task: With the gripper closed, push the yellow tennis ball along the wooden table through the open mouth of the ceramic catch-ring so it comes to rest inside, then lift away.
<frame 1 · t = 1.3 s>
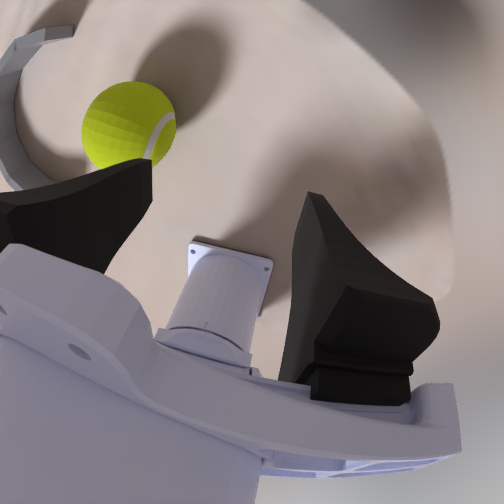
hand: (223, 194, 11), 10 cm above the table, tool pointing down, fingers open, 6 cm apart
catch ring: (55, 114, 19), on the table
tennis ball: (152, 116, 19), on the table
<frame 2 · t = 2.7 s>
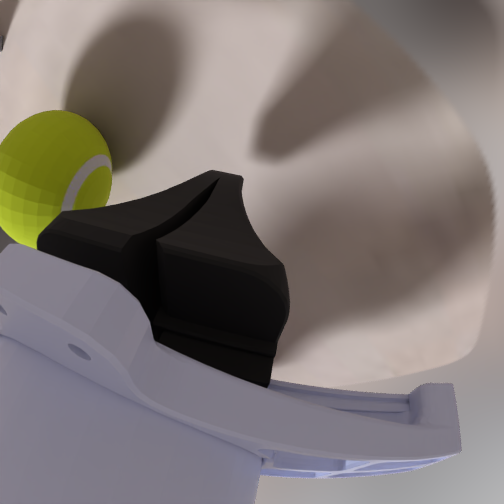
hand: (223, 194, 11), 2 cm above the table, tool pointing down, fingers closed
tennis ball: (90, 151, 13), on the table
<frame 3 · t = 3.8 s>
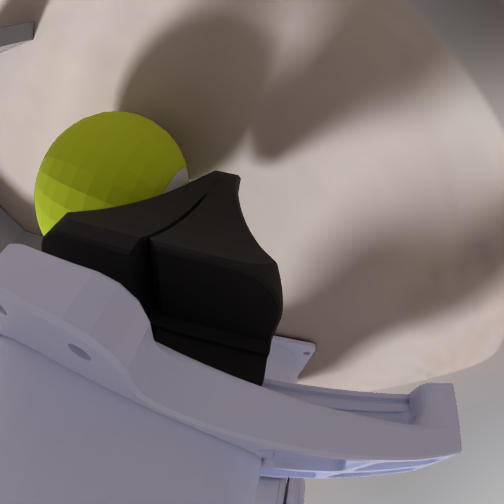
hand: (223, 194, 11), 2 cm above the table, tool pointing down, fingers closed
catch ring: (18, 149, 13), on the table
tennis ball: (149, 159, 13), on the table, touching gripper
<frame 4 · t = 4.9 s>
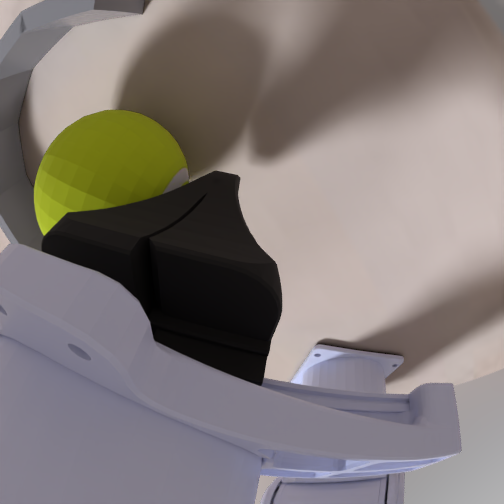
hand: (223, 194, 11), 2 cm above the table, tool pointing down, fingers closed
catch ring: (99, 155, 13), on the table
tennis ball: (149, 158, 13), on the table, touching gripper
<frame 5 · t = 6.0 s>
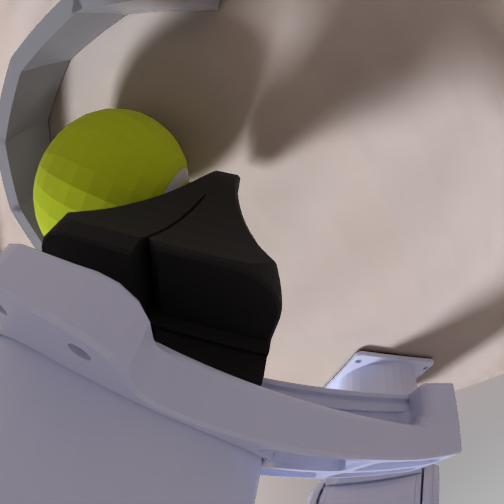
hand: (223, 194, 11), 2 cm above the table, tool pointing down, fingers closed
catch ring: (154, 161, 13), on the table
tennis ball: (148, 157, 13), on the table, touching gripper
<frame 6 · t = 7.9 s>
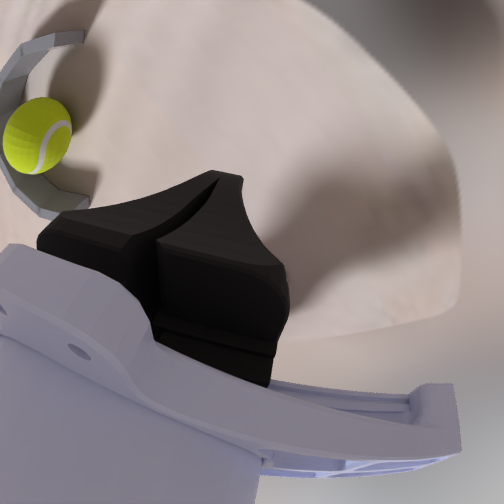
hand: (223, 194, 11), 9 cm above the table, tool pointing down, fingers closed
catch ring: (64, 123, 19), on the table
tennis ball: (62, 122, 20), on the table
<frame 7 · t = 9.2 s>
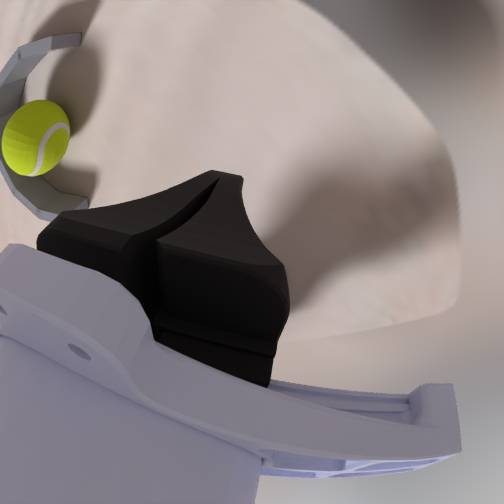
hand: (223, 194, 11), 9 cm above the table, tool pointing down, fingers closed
catch ring: (62, 125, 20), on the table
tennis ball: (61, 124, 20), on the table
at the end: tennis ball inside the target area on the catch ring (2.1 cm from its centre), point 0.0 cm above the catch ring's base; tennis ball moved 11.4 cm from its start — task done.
